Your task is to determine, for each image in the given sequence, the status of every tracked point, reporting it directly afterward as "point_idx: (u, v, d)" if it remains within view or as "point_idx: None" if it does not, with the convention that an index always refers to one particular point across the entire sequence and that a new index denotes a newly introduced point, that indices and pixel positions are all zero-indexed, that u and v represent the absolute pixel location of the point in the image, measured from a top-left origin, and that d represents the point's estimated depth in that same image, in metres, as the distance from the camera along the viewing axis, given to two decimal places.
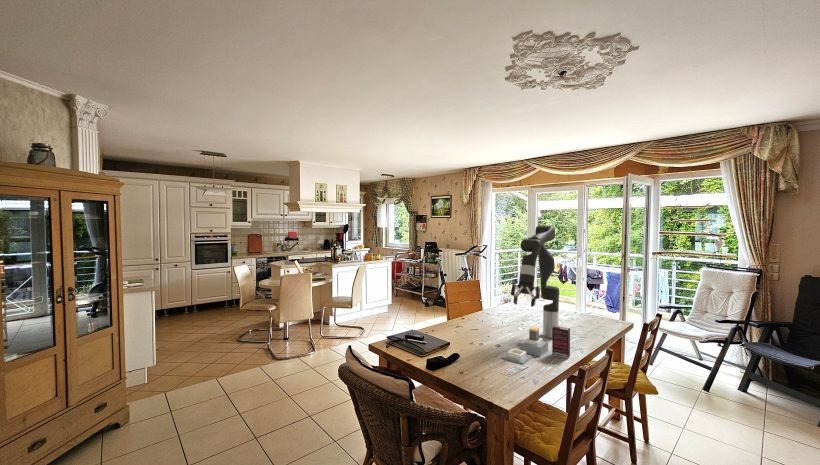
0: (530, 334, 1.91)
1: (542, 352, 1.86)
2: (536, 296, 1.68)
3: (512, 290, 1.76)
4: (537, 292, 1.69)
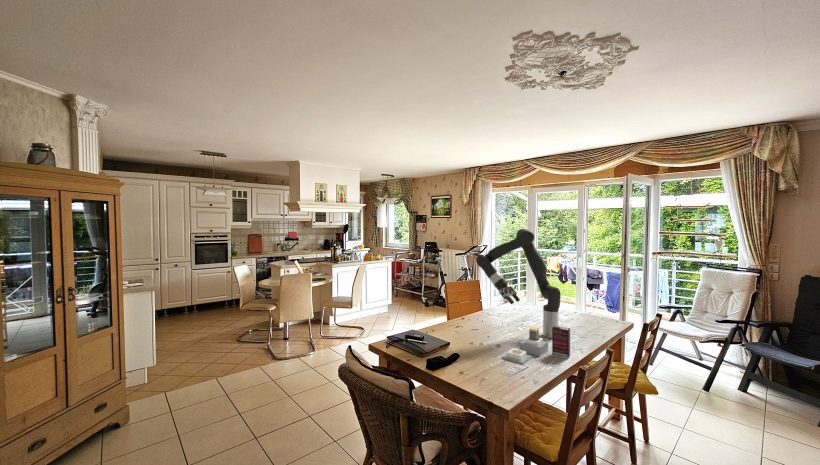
0: (530, 334, 1.91)
1: (542, 352, 1.86)
2: (504, 298, 1.97)
3: None
4: None
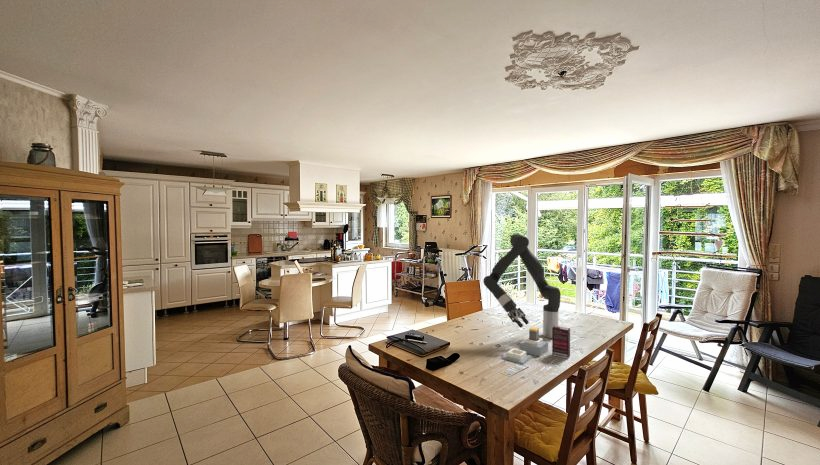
0: (530, 334, 1.91)
1: (542, 352, 1.86)
2: None
3: None
4: None
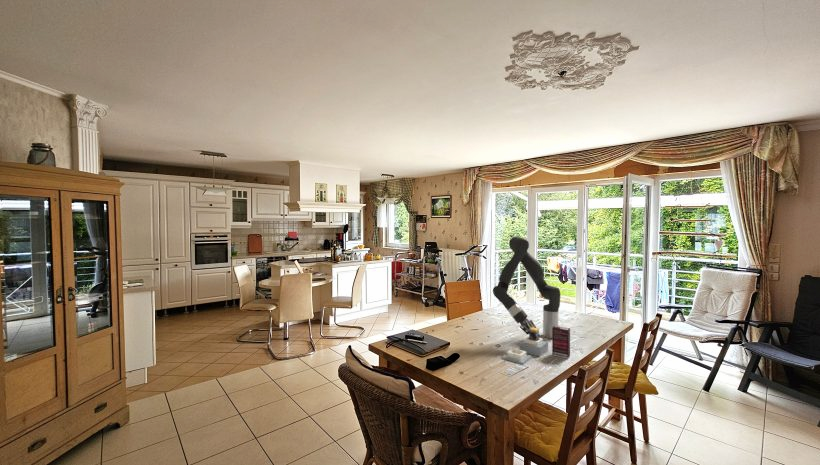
0: None
1: (542, 352, 1.86)
2: None
3: None
4: None
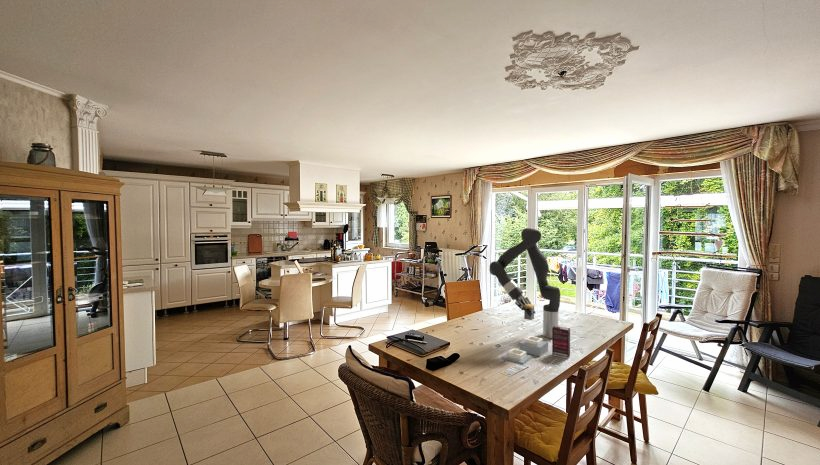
0: None
1: (542, 352, 1.86)
2: None
3: None
4: None
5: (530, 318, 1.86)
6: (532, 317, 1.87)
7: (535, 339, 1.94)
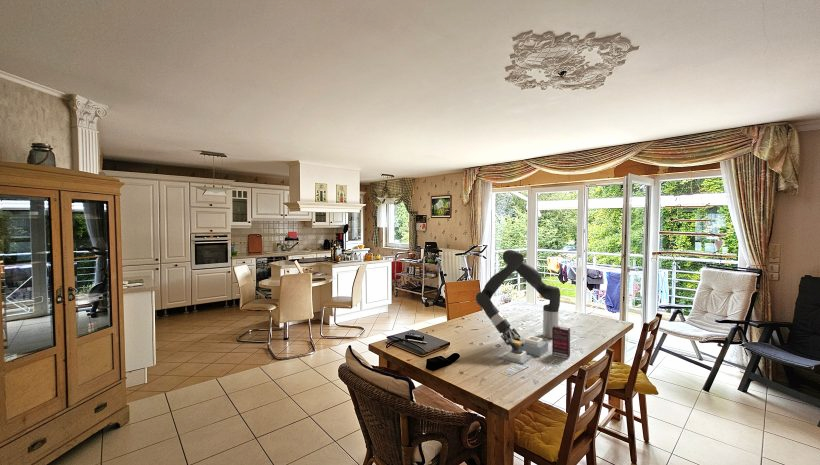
0: None
1: (542, 352, 1.86)
2: None
3: None
4: None
5: None
6: None
7: (535, 339, 1.94)
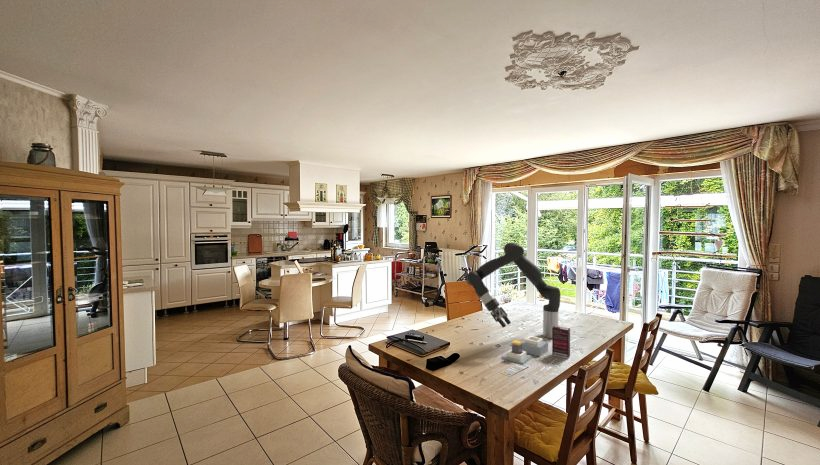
0: (513, 348, 1.80)
1: (542, 352, 1.86)
2: (496, 320, 1.84)
3: None
4: None
5: None
6: None
7: (535, 339, 1.94)
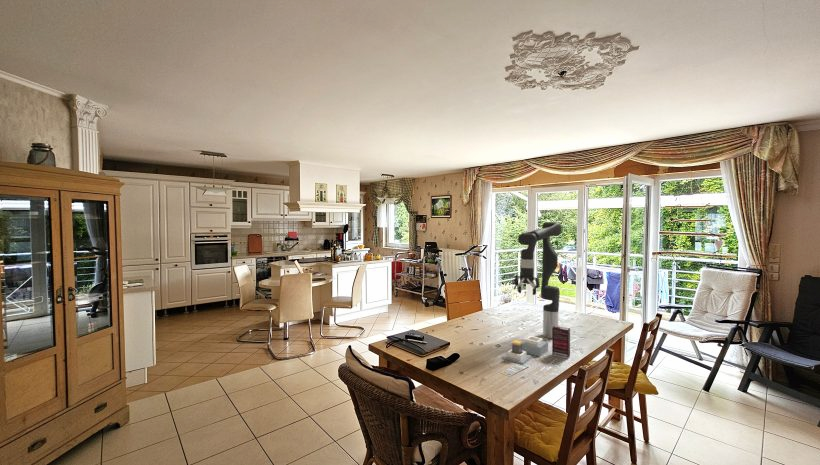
0: (513, 348, 1.80)
1: (542, 352, 1.86)
2: (536, 286, 1.92)
3: (515, 281, 2.01)
4: (537, 283, 1.92)
5: None
6: None
7: (535, 339, 1.94)
